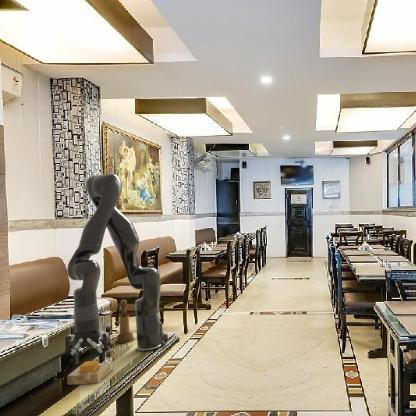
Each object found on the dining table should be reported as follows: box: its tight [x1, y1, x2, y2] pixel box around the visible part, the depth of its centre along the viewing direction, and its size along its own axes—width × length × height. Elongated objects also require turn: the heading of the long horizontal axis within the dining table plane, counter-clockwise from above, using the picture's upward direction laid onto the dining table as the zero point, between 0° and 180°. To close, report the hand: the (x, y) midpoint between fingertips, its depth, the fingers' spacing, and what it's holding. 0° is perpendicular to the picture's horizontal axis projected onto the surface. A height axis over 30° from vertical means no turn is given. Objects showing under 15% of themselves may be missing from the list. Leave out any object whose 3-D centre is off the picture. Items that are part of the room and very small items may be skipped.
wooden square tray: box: [66, 362, 111, 386], centre depth 149 cm, size 10×10×3 cm
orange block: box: [79, 360, 99, 373], centre depth 149 cm, size 4×4×5 cm
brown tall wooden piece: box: [116, 299, 134, 344], centre depth 188 cm, size 7×6×18 cm
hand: (89, 363), depth 149 cm, fingers open, 8 cm apart
